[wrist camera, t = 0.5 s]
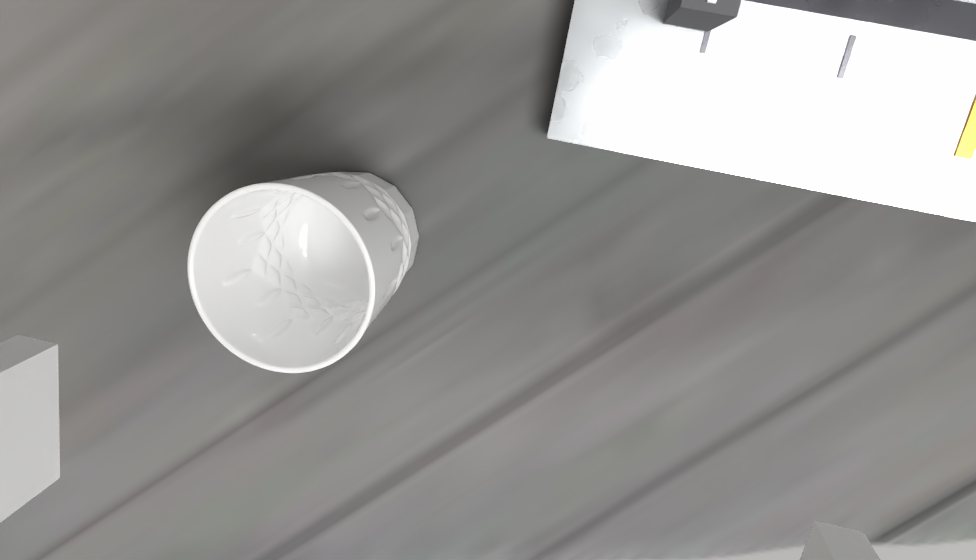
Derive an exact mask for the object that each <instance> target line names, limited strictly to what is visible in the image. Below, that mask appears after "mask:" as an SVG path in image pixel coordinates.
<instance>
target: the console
mask: <svg viewBox="0 0 976 560" xmlns="http://www.w3.org/2000/svg"><path fill="white" fill-rule="evenodd" d="M667 4H668V0H575V2H574V7H573V12H572V17H571V21H570V26H569V31H568V36H567V41H566V46H565V51H564V56H563V61H562V66H561V71H560V76H559V81H558V86H557V90H556V95H555V100H554V105H553V110H552V115H551V120H550V125H549V130H548V135H547V138H550V139H555V140H560V141H565V142H571V143H576V144H581V145H586V146H591V147H596V148H601V149H606V150H611V151H616V152H621V153H627V154H632V155H637V156H642V157H647V158H652V159H657V160H662V161H667V162H672V163H677V164H683V165H688V166H693V167H698V168H703V169H708V170H713V171H718V172H723V173H728V174H734V175H739V176H744V177H749V178H754V179H759V180H764V181H769V182H774V183H779V184H784V185H790V186H795V187H800V188H805V189H810V190H815V191H820V192H825V193H830V194H835V195H840V196H846V197H851V198H856V199H861V200H866V201H871V202H876V203H881V204H886V205H891V206H897V207H902V208H907V209H912V210H917V211H922V212H927V213H932V214H937V215H942V216H947V217H953V218H958V219H963V220H968V221H973V222H976V0H741V4H740V8H739V12H738V15H737V17H736V18H734V19H732V20H730V21H728V22H726V23H725V24H723V25H721V26H719V27H717V28H715V29H713V30H711V31H709V32H708V31H702V30H697V29H691V28H686V27H680V26H675V25H669V24H663V21H664V17H665V13H666V9H667Z"/></svg>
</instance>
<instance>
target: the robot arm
mask: <svg viewBox="0 0 976 560" xmlns="http://www.w3.org/2000/svg"><path fill="white" fill-rule="evenodd" d="M59 478H60V455H59V385H58V344H55V343H51V342H47V341H42V340H38V339H34V338H30V337H25V336H21V335H16V336H14V337H12V338H10V339H8V340H5V341H3V342H1V343H0V522H2V521H3V520H4V519H6V518H7V517H8V516H10V515H11V514H12V513H14V512H15V511H16V510H18V509H19V508H20V507H21V506H23V505H24V504H25V503H27V502H28V501H29V500H31V499H32V498H33V497H35V496H36V495H37V494H39V493H40V492H41V491H43V490H44V489H45V488H47V487H48V486H49V485H51V484H52V483H53V482H55V481H56V480H57V479H59ZM800 560H880V559H879V557H878V555H877V554H876V552H875V550H874V549H873V547H872V545H871V544H870V542H869V540H868V539H867V537H866V535H865V534H864V532H861V531H857V530H853V529H848V528H844V527H840V526H835V525H831V524H827V523H823V522H818V521H814V524H813V526H812V529H811V532H810V534H809V537H808V540H807V542H806V545H805V548H804V550H803V553H802V556H801V558H800Z"/></svg>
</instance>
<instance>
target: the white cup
mask: <svg viewBox="0 0 976 560" xmlns="http://www.w3.org/2000/svg"><path fill="white" fill-rule="evenodd" d="M418 240H419V234H418V230H417V226H416V221H415V217H414V213H413V209H412V208H411V206H410V205H409V204H408V202H407V201H406V200H405V199H404V197H403V196H402V195H401V193H400V192H399V191H398V189H397V188H396V187H395V186H394V185H392V184H390V183H388V182H386V181H384V180H383V179H381V178H379V177H377V176H375V175H373V174H371V173H368V172H330V173H320V174H313V175H304V176H298V177H292V178H287V179H282V180H276V181H270V182H264V183H258V184H253V185H249V186H245V187H242V188H239V189H237V190H235V191H232V192H230V193H229V194H227V195H225V196H224V197H222V198H221V199H220V200H218V201H217V202H216V203H215V204H214V205H213V206H212V207H211V208H210V209H209V210H208V211H207V212H206V213H205V215H204V216H203V217H202V219H201V220H200V222H199V224H198V226H197V227H196V230H195V232H194V234H193V237H192V240H191V243H190V248H189V253H188V266H187V267H188V281H189V286H190V291H191V294H192V298H193V301H194V303H195V306H196V308H197V310H198V312H199V314H200V316H201V318H202V320H203V321H204V323H205V324H206V326H207V327H208V329H209V330H210V331H211V333H212V334H213V335H214V336H215V337H216V338H217V340H218V341H219V342H220V343H221V344H223V345H224V346H225V347H226V348H227V349H228V350H230V351H231V352H232V353H234V354H235V355H236V356H238V357H240V358H241V359H243V360H245V361H247V362H249V363H251V364H253V365H255V366H258V367H260V368H263V369H267V370H271V371H276V372H282V373H302V372H309V371H313V370H317V369H320V368H323V367H326V366H328V365H330V364H332V363H334V362H336V361H337V360H339V359H340V358H342V357H343V356H344V355H346V354H347V353H348V352H349V351H350V350H351V349H352V348H353V347H354V346H355V345H356V344H357V342H358V341H359V340H360V338H361V337H362V336H363V334H364V333H365V332H366V330H367V329H368V328H369V326H370V325H371V324H372V323H373V321H374V320H375V319H376V317H377V316H378V315H379V313H380V312H381V311H382V309H383V308H384V307H385V306H386V304H387V303H388V302H389V300H390V299H391V298H392V296H393V294H394V293H395V291H396V290H397V288H398V287H399V285H400V283H401V281H402V279H403V277H404V275H405V273H406V272H407V271H408V270H409V269H410V267H411V266H412V265H413V262H414V258H415V253H416V249H417V244H418Z"/></svg>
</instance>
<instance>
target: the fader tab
mask: <svg viewBox="0 0 976 560" xmlns="http://www.w3.org/2000/svg"><path fill="white" fill-rule="evenodd" d="M740 4H741V0H668V4H667V9H666V13H665V17H664V21H663V24H669V25H675V26H680V27H686V28H691V29H697V30H702V31H708V32H709V31H711V30H713V29H715V28H717V27H719V26H721V25H723V24H725V23H726V22H728V21H730V20H732V19H734V18H736V17H737V15H738V12H739V8H740Z"/></svg>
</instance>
